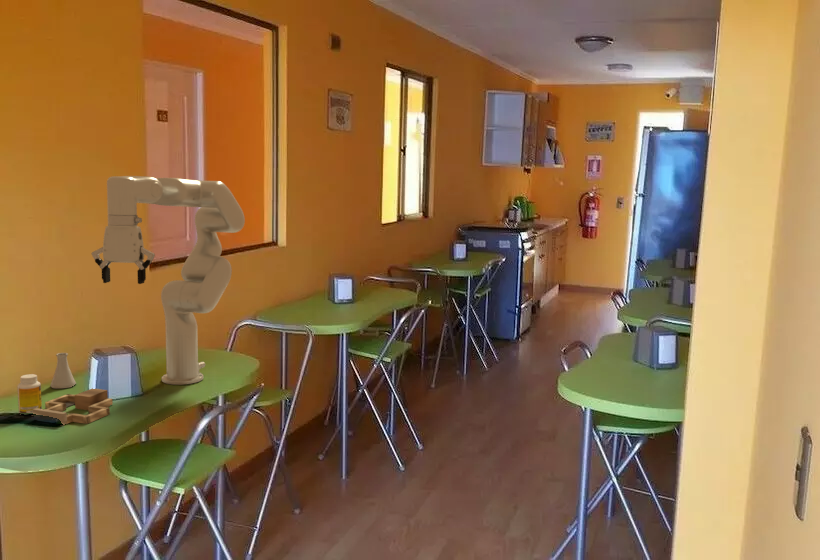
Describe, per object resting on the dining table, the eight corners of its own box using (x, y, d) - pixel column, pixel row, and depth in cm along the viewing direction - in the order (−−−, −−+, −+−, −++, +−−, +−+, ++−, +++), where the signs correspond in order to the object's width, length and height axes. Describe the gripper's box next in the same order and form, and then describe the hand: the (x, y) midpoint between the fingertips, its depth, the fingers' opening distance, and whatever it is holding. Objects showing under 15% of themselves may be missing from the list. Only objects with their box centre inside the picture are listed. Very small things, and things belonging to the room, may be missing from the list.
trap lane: (70, 399, 211) (69, 389, 210) (126, 407, 205) (126, 396, 205) (18, 418, 194) (18, 407, 193) (78, 427, 188) (78, 416, 187)
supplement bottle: (44, 413, 198) (42, 376, 197) (21, 417, 195) (19, 380, 193) (39, 408, 202) (37, 372, 201) (16, 412, 199) (14, 375, 197)
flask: (49, 390, 219) (47, 357, 218) (51, 383, 226) (49, 352, 225) (75, 388, 222) (74, 355, 221) (77, 381, 229) (75, 350, 227)
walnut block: (93, 401, 210) (92, 388, 209) (107, 403, 208) (107, 390, 208) (75, 409, 203) (74, 395, 203) (90, 411, 202) (89, 397, 201)
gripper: (158, 221, 207) (159, 282, 209) (97, 220, 208) (99, 280, 210) (148, 223, 200) (149, 285, 202) (85, 221, 200) (87, 283, 202)
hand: (123, 282), depth 206 cm, fingers open, 9 cm apart
